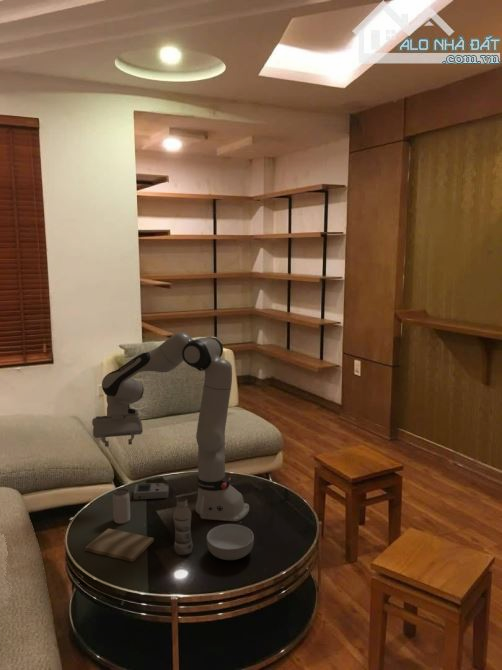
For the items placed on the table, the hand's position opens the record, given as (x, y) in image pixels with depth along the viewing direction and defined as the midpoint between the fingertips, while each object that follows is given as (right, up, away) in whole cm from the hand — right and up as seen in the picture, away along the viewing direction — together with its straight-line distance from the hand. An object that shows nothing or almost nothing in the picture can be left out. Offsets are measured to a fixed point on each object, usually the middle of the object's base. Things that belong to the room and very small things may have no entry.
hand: (118, 445), depth 217 cm
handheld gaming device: (+11, -26, +15) cm, 32 cm away
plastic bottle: (+31, -32, -30) cm, 54 cm away
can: (+3, -29, -7) cm, 30 cm away
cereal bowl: (+47, -32, -31) cm, 65 cm away
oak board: (+7, -32, -25) cm, 41 cm away
